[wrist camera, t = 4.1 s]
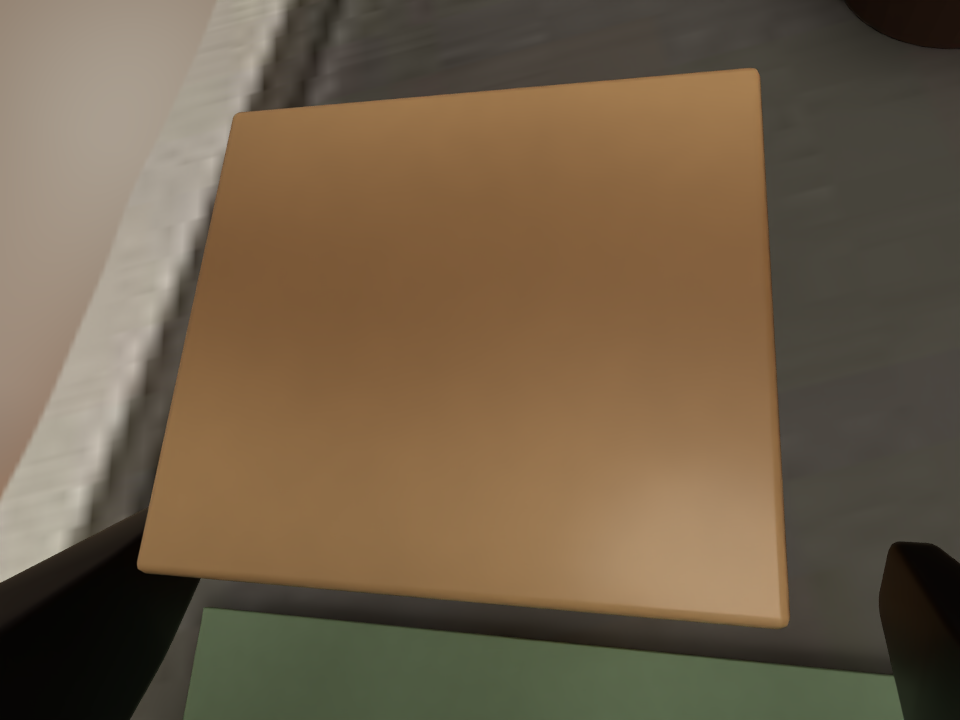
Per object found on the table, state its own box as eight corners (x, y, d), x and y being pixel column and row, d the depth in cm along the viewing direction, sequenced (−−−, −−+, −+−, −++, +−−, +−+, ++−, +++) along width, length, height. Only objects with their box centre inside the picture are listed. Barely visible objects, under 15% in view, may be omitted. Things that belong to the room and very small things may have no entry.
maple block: (687, 602, 17) (793, 631, 5) (462, 584, 18) (130, 572, 6) (685, 400, 18) (760, 63, 6) (477, 397, 19) (230, 109, 8)
